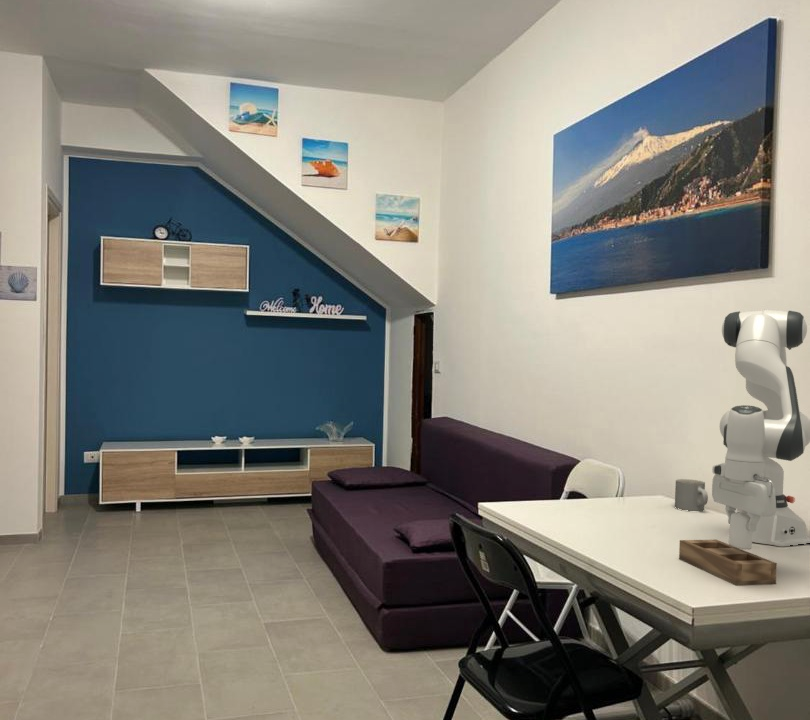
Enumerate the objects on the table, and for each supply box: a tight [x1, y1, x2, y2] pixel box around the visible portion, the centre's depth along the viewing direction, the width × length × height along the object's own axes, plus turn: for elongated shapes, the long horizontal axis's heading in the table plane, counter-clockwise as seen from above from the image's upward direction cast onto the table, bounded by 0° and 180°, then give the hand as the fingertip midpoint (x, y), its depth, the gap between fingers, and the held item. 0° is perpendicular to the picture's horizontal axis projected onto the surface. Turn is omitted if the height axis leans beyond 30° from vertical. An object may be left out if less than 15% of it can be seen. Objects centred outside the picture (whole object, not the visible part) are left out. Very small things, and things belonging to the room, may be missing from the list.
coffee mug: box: [674, 478, 709, 512], centre depth 282 cm, size 13×10×10 cm
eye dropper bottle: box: [728, 509, 753, 551], centre depth 194 cm, size 4×6×12 cm
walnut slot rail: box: [678, 539, 778, 586], centre depth 200 cm, size 11×24×5 cm, turn 13°
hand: (741, 527), depth 194 cm, fingers closed on eye dropper bottle, 6 cm apart
